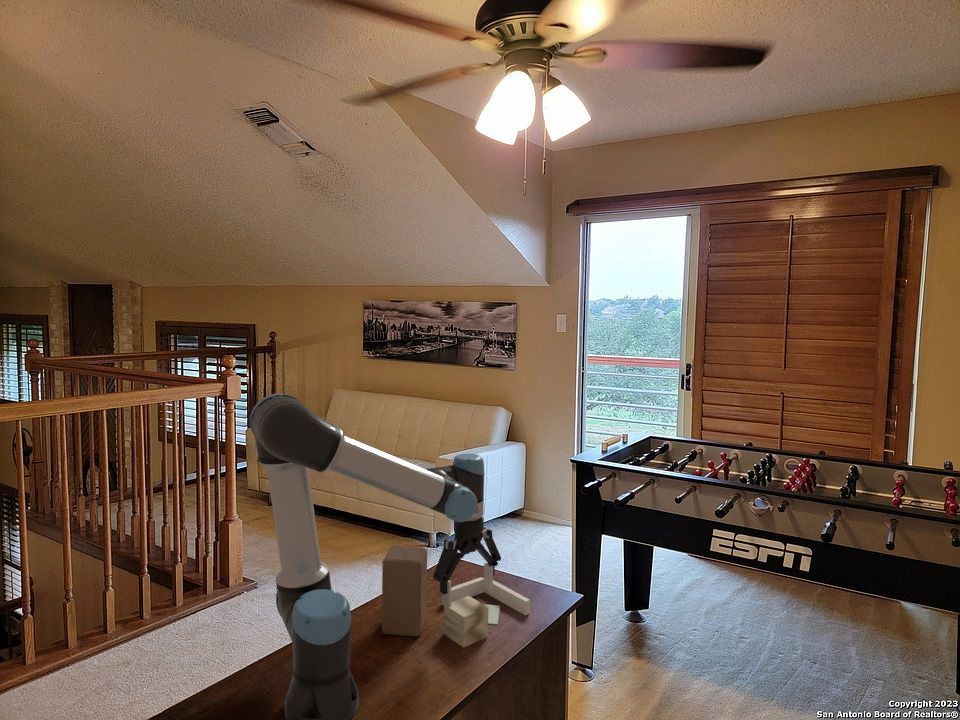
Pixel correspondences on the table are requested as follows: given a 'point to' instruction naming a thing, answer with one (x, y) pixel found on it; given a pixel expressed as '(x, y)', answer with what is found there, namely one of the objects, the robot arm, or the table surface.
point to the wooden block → (404, 591)
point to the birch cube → (466, 621)
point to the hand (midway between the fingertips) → (468, 596)
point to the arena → (498, 593)
